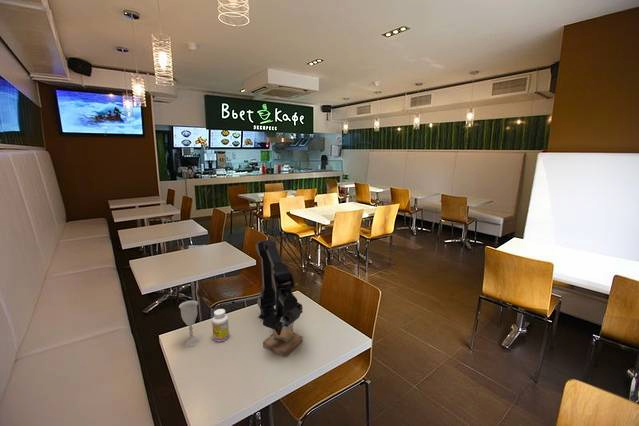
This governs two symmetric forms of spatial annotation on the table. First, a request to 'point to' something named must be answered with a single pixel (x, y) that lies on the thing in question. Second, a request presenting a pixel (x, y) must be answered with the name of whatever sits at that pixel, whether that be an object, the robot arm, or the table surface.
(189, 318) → the chalice
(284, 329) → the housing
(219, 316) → the supplement bottle
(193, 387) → the table surface
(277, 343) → the walnut stand
